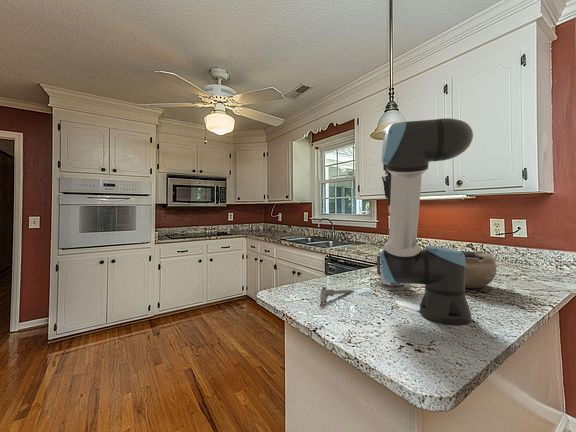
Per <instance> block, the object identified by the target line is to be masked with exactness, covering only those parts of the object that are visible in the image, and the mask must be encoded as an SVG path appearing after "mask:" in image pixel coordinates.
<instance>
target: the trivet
mask: <svg viewBox="0 0 576 432" xmlns="http://www.w3.org/2000/svg"><path fill="white" fill-rule="evenodd" d="M374 284H375V286H377V287H379V288H383V289H387V290H395V291H396V290H409V289H410V288H412V284H409V283H405V285H404V286H403V287H388V286H384V285H382V282H381V279H379V280H376V281H375V282H374Z"/></svg>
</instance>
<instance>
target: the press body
mask: <svg viewBox="0 0 576 432" xmlns="http://www.w3.org/2000/svg"><path fill="white" fill-rule="evenodd" d="M376 274H377V275H380V277H381V278H380V280H381V282H382V285H384V286H388V287H403V286H404V285H405V283H393V282H386V281H385V280H384V279H383V274H382V267H381V259H380V252H378V254H377V255H376Z"/></svg>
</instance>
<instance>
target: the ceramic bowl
mask: <svg viewBox="0 0 576 432" xmlns="http://www.w3.org/2000/svg"><path fill="white" fill-rule="evenodd" d="M460 251H461V252H462V253H463V254H464V256H465V264H466V267H465V289H482V288H484V287H487V286H488V285H489V284H490V283H491V282H493V280H494V278H495V276H496V274H497V265H496V260H497V257H498V256H497V255H495V254H494V253H493V254H492V253H491V254H489V253H485V252H479V251H478V252H477V251H468V250H460Z"/></svg>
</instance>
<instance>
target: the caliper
mask: <svg viewBox="0 0 576 432" xmlns="http://www.w3.org/2000/svg"><path fill="white" fill-rule="evenodd" d="M321 288H322V289H320V294H319V295H320V296H319V297H320V299H319V301H320V303H327V300H328V298H329V297H334V296H335V295H342V294H343V295H344V294H352V293H353V292H354V290H352V289H333V288H331V289H330V288H328V287H326V286H322V287H321Z"/></svg>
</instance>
